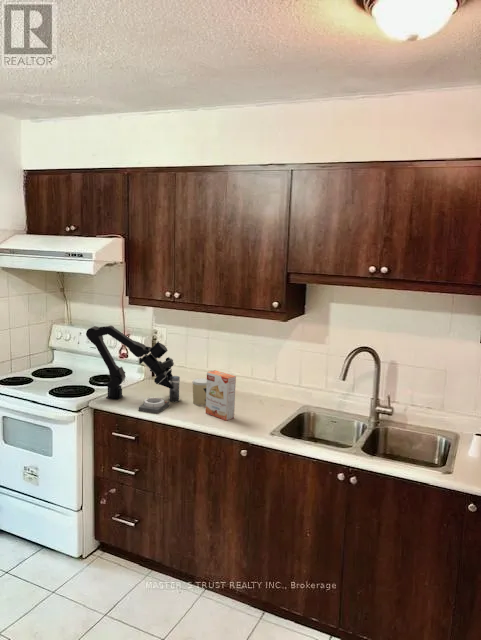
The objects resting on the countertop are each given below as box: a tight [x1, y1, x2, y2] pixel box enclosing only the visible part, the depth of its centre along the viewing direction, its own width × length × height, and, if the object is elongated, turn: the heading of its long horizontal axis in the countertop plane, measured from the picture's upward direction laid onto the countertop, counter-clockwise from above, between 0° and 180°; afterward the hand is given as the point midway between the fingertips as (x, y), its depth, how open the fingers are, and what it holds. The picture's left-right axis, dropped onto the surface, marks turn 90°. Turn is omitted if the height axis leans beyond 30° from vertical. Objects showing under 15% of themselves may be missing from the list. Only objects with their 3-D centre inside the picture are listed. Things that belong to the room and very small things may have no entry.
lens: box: [168, 375, 181, 403], centre depth 266 cm, size 5×5×13 cm
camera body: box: [138, 396, 170, 415], centre depth 254 cm, size 10×13×4 cm
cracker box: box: [205, 369, 237, 421], centre depth 246 cm, size 14×6×21 cm, turn 49°
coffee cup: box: [192, 377, 207, 407], centre depth 264 cm, size 9×9×12 cm
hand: (174, 385), depth 266 cm, fingers open, 9 cm apart
